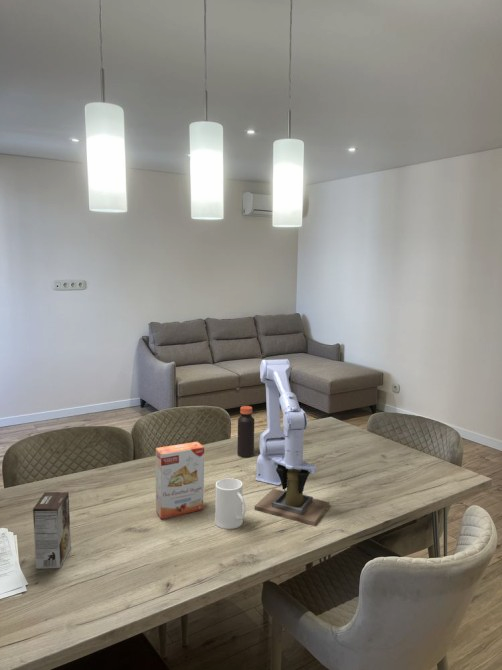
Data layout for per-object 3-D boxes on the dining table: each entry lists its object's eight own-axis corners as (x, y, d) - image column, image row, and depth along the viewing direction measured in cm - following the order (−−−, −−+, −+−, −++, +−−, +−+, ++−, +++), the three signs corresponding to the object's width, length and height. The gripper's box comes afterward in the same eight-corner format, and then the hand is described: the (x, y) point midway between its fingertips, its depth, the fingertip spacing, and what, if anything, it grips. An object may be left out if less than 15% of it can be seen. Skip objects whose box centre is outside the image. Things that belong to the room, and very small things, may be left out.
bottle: (253, 458, 192) (254, 410, 189) (237, 457, 192) (237, 409, 189) (253, 451, 198) (254, 405, 196) (237, 451, 199) (238, 405, 196)
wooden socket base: (254, 509, 150) (254, 501, 149) (273, 491, 162) (273, 484, 162) (314, 525, 141) (314, 517, 140) (329, 505, 153) (329, 497, 153)
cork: (301, 508, 148) (301, 474, 147) (282, 505, 150) (282, 472, 149) (305, 499, 154) (306, 467, 153) (287, 497, 156) (287, 464, 155)
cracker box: (161, 520, 142) (160, 453, 140) (155, 511, 148) (154, 447, 145) (204, 510, 149) (204, 446, 146) (197, 502, 154) (197, 440, 152)
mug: (254, 528, 139) (255, 489, 137) (230, 537, 134) (230, 497, 132) (232, 511, 148) (233, 475, 147) (209, 519, 143) (209, 481, 142)
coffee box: (47, 548, 127) (44, 491, 125) (71, 547, 128) (69, 490, 126) (34, 569, 118) (31, 508, 116) (61, 568, 119) (58, 507, 117)
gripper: (267, 448, 149) (266, 490, 150) (311, 457, 142) (309, 500, 144) (276, 442, 155) (276, 481, 157) (319, 450, 148) (317, 491, 150)
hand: (292, 490), depth 151 cm, fingers closed on cork, 5 cm apart
